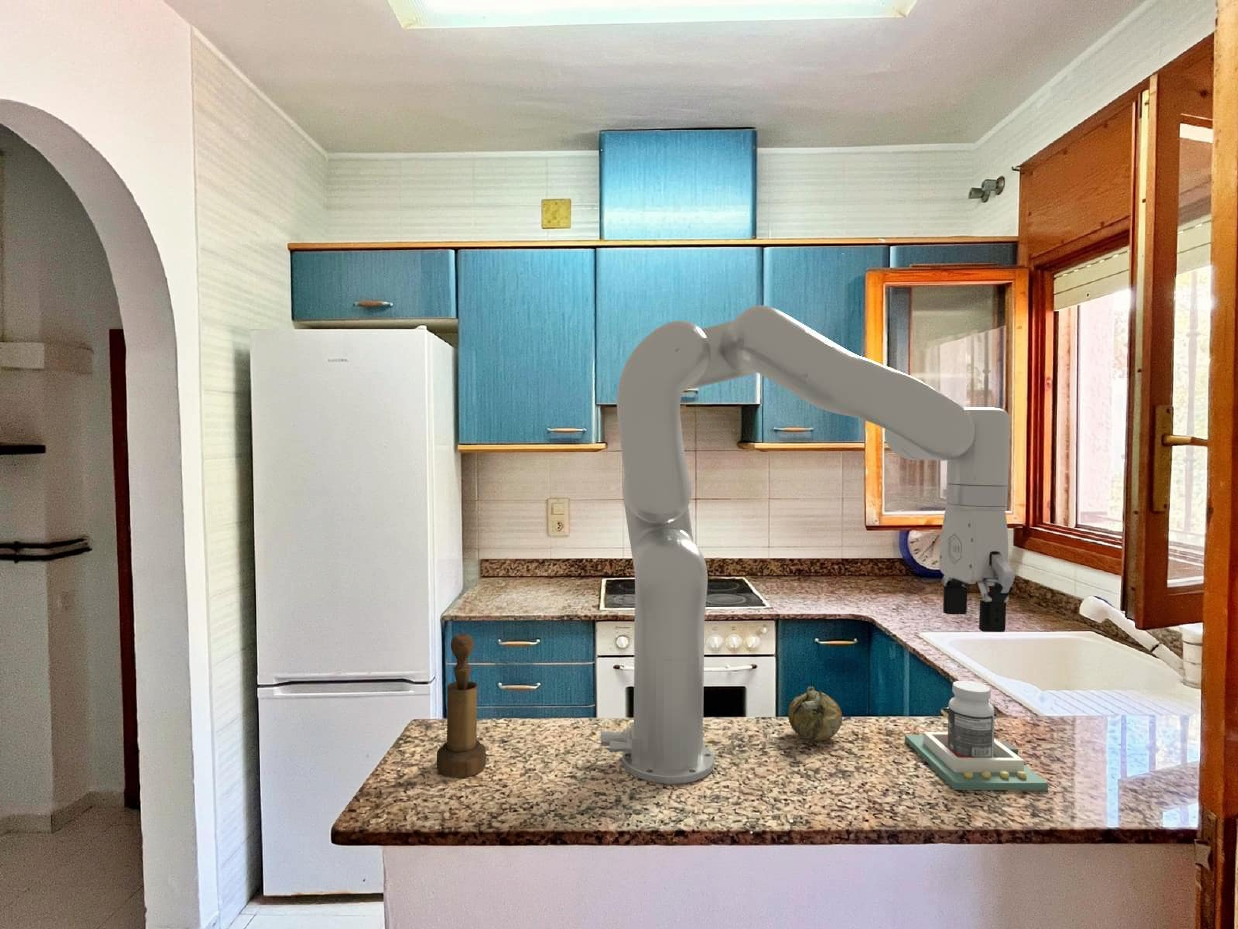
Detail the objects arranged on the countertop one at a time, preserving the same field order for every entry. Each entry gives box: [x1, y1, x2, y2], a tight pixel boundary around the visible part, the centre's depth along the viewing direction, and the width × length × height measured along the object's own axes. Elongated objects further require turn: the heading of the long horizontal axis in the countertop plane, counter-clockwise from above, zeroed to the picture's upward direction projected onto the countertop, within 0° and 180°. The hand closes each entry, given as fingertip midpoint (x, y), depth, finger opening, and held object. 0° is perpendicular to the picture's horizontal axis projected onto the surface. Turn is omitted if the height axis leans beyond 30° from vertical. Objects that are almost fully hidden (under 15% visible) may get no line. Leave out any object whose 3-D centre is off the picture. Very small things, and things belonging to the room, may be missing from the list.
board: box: [904, 731, 1049, 792], centre depth 97 cm, size 12×15×3 cm
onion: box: [787, 686, 843, 742], centre depth 105 cm, size 8×8×8 cm
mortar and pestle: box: [436, 633, 487, 778], centre depth 94 cm, size 7×6×18 cm
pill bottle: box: [947, 680, 996, 758], centre depth 97 cm, size 6×6×10 cm
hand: (972, 622), depth 96 cm, fingers open, 9 cm apart
